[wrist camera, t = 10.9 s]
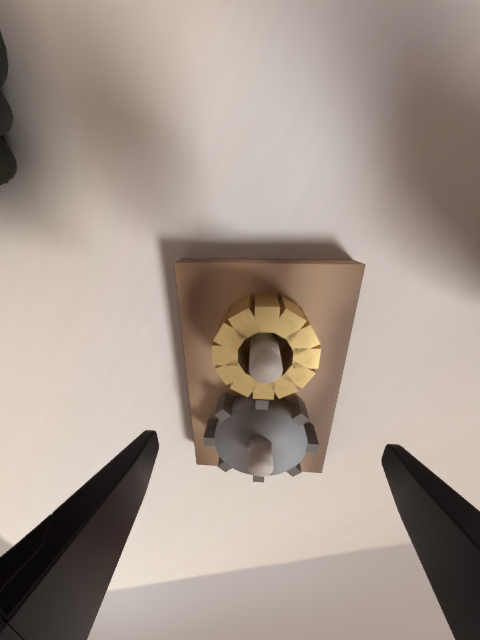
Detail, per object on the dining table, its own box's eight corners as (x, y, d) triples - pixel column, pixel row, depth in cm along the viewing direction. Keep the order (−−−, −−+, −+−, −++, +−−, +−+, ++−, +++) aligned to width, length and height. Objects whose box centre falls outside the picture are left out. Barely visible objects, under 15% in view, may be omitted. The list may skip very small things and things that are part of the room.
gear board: (353, 260, 17) (406, 279, 11) (316, 454, 25) (335, 527, 19) (182, 258, 18) (144, 276, 12) (200, 447, 26) (183, 514, 20)
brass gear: (315, 293, 16) (327, 307, 13) (305, 375, 19) (313, 401, 16) (217, 292, 16) (209, 305, 14) (221, 372, 19) (214, 397, 16)
